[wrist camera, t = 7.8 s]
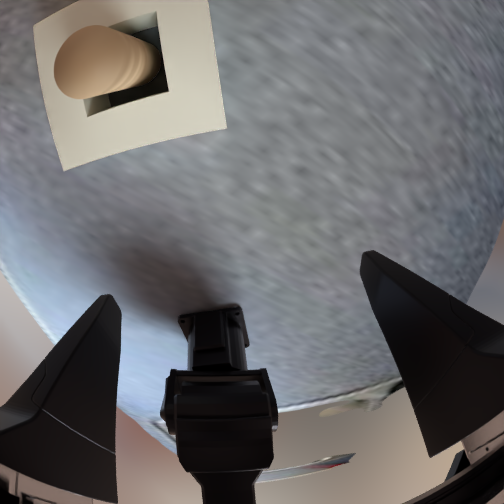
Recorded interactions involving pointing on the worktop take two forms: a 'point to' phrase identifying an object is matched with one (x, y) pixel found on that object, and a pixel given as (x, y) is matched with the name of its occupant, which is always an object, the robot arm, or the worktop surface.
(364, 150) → the worktop surface
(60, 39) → the socket
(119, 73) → the peg
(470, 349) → the robot arm
